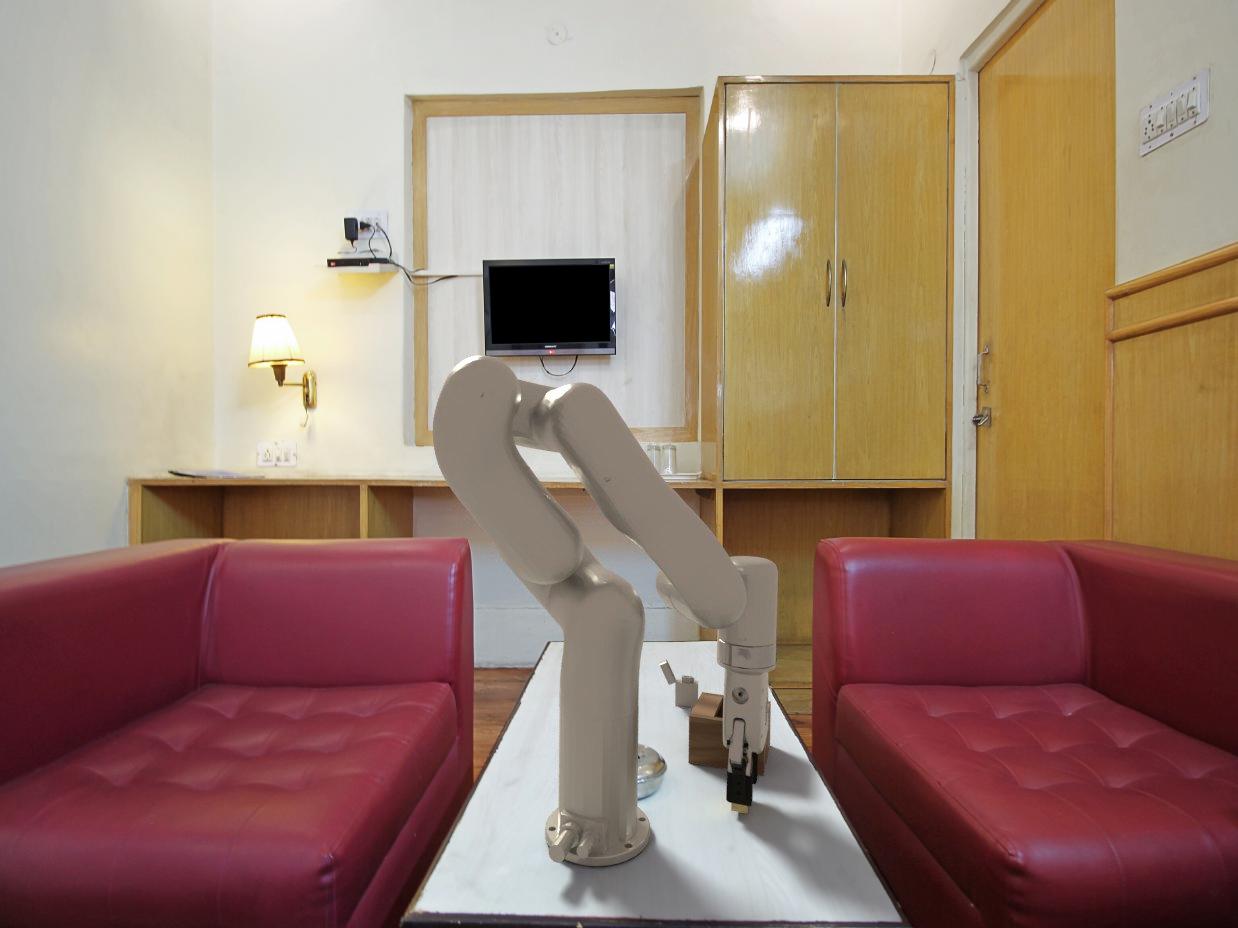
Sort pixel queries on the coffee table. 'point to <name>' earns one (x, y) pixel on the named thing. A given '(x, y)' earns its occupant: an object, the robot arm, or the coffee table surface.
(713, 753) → the box
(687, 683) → the lighter
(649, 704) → the coffee table surface
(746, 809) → the gold metal block
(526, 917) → the coffee table surface
